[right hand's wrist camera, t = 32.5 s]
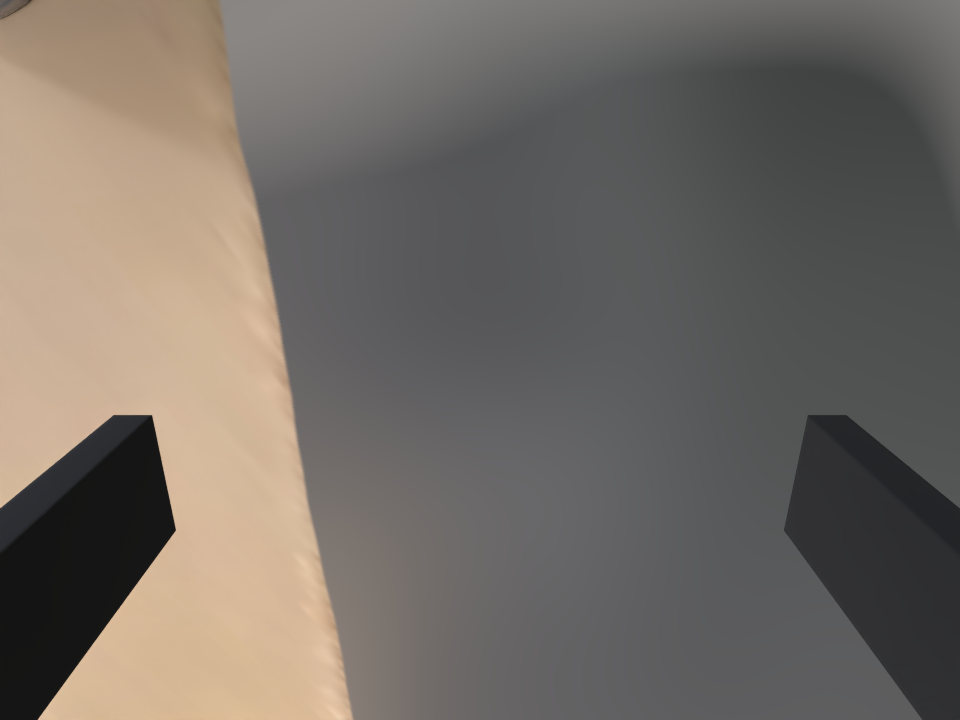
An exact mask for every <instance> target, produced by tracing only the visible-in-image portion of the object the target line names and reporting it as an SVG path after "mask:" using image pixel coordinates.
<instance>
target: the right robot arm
mask: <svg viewBox="0 0 960 720" xmlns="http://www.w3.org/2000/svg"><path fill="white" fill-rule="evenodd" d="M28 1H29V0H0V19H1V18H3V17H6V16H8V15H9V14H11V13H13V12H15V11H17V10H18V9H19V8H21V7H22V6H24V5H25V4H26V3H27V2H28ZM175 531H176V528H175V523H174V519H173V514H172V509H171V504H170V499H169V495H168V490H167V485H166V480H165V475H164V471H163V466H162V461H161V456H160V451H159V446H158V442H157V437H156V432H155V427H154V422H153V418H152V415H113V416H112V417H111V418H110V419H109V420H107V421H106V422H105V423H104V424H102V425H101V426H100V427H99V428H98V429H96V430H95V431H94V432H93V433H92V434H90V435H89V436H88V437H87V438H85V439H84V440H83V441H82V442H81V443H79V444H78V445H77V446H76V447H74V448H73V449H72V450H71V451H70V452H68V453H67V454H66V455H65V456H64V457H62V458H61V459H60V460H59V461H57V462H56V463H55V464H54V465H53V466H51V467H50V468H49V469H48V470H47V471H45V472H44V473H43V474H42V475H40V476H39V477H38V478H37V479H36V480H34V481H33V482H32V483H31V484H29V485H28V486H27V487H26V488H25V489H23V490H22V491H21V492H20V493H19V494H17V495H16V496H15V497H14V498H12V499H11V500H10V501H9V502H8V503H6V504H5V505H4V506H3V507H2V508H0V720H38V718H39V717H40V716H41V714H42V713H43V712H44V710H45V709H46V707H47V706H48V705H49V703H50V702H51V701H52V699H53V698H54V696H55V695H56V694H57V692H58V691H59V690H60V688H61V687H62V686H63V684H64V683H65V681H66V680H67V679H68V677H69V676H70V675H71V673H72V672H73V670H74V669H75V668H76V666H77V665H78V664H79V662H80V661H81V660H82V658H83V657H84V655H85V654H86V653H87V651H88V650H89V649H90V647H91V646H92V644H93V643H94V642H95V640H96V639H97V638H98V636H99V635H100V634H101V632H102V631H103V629H104V628H105V627H106V625H107V624H108V623H109V621H110V620H111V618H112V617H113V616H114V614H115V613H116V612H117V610H118V609H119V608H120V606H121V605H122V603H123V602H124V601H125V599H126V598H127V597H128V595H129V594H130V592H131V591H132V590H133V588H134V587H135V586H136V584H137V583H138V582H139V580H140V579H141V577H142V576H143V575H144V573H145V572H146V571H147V569H148V568H149V566H150V565H151V564H152V562H153V561H154V560H155V558H156V557H157V556H158V554H159V553H160V551H161V550H162V549H163V547H164V546H165V545H166V543H167V542H168V540H169V539H170V538H171V536H172V535H173V534H174V532H175ZM784 531H785V532H786V534H787V535H788V536H789V538H790V539H791V540H792V542H793V543H794V545H795V546H796V547H797V549H798V550H799V551H800V553H801V554H802V556H803V557H804V558H805V560H806V561H807V562H808V564H809V565H810V566H811V568H812V569H813V571H814V572H815V573H816V575H817V576H818V577H819V579H820V580H821V582H822V583H823V584H824V586H825V587H826V588H827V590H828V591H829V592H830V594H831V595H832V597H833V598H834V599H835V601H836V602H837V603H838V605H839V606H840V608H841V609H842V610H843V612H844V613H845V614H846V616H847V617H848V618H849V620H850V621H851V623H852V624H853V625H854V627H855V628H856V629H857V631H858V632H859V634H860V635H861V636H862V638H863V639H864V640H865V642H866V643H867V644H868V646H869V647H870V649H871V650H872V651H873V653H874V654H875V655H876V657H877V658H878V660H879V661H880V662H881V664H882V665H883V666H884V668H885V669H886V670H887V672H888V673H889V675H890V676H891V677H892V679H893V680H894V681H895V683H896V684H897V686H898V687H899V688H900V690H901V691H902V692H903V694H904V695H905V696H906V698H907V699H908V701H909V702H910V703H911V705H912V706H913V707H914V709H915V710H916V712H917V713H918V714H919V716H920V717H921V718H922V720H960V508H958V507H957V506H956V505H955V504H954V503H952V502H951V501H950V500H949V499H948V498H946V497H945V496H944V495H943V494H941V493H940V492H939V491H938V490H937V489H935V488H934V487H933V486H932V485H931V484H929V483H928V482H927V481H926V480H924V479H923V478H922V477H921V476H920V475H918V474H917V473H916V472H915V471H913V470H912V469H911V468H910V467H909V466H907V465H906V464H905V463H904V462H903V461H901V460H900V459H899V458H898V457H896V456H895V455H894V454H893V453H892V452H890V451H889V450H888V449H887V448H885V447H884V446H883V445H882V444H881V443H879V442H878V441H877V440H876V439H875V438H873V437H872V436H871V435H870V434H868V433H867V432H866V431H865V430H864V429H862V428H861V427H860V426H859V425H858V424H856V423H855V422H854V421H853V420H851V419H850V418H849V417H848V416H846V415H808V418H807V422H806V427H805V432H804V437H803V442H802V447H801V451H800V456H799V461H798V466H797V471H796V475H795V480H794V485H793V490H792V495H791V499H790V504H789V509H788V514H787V519H786V524H785V528H784Z"/></svg>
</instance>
